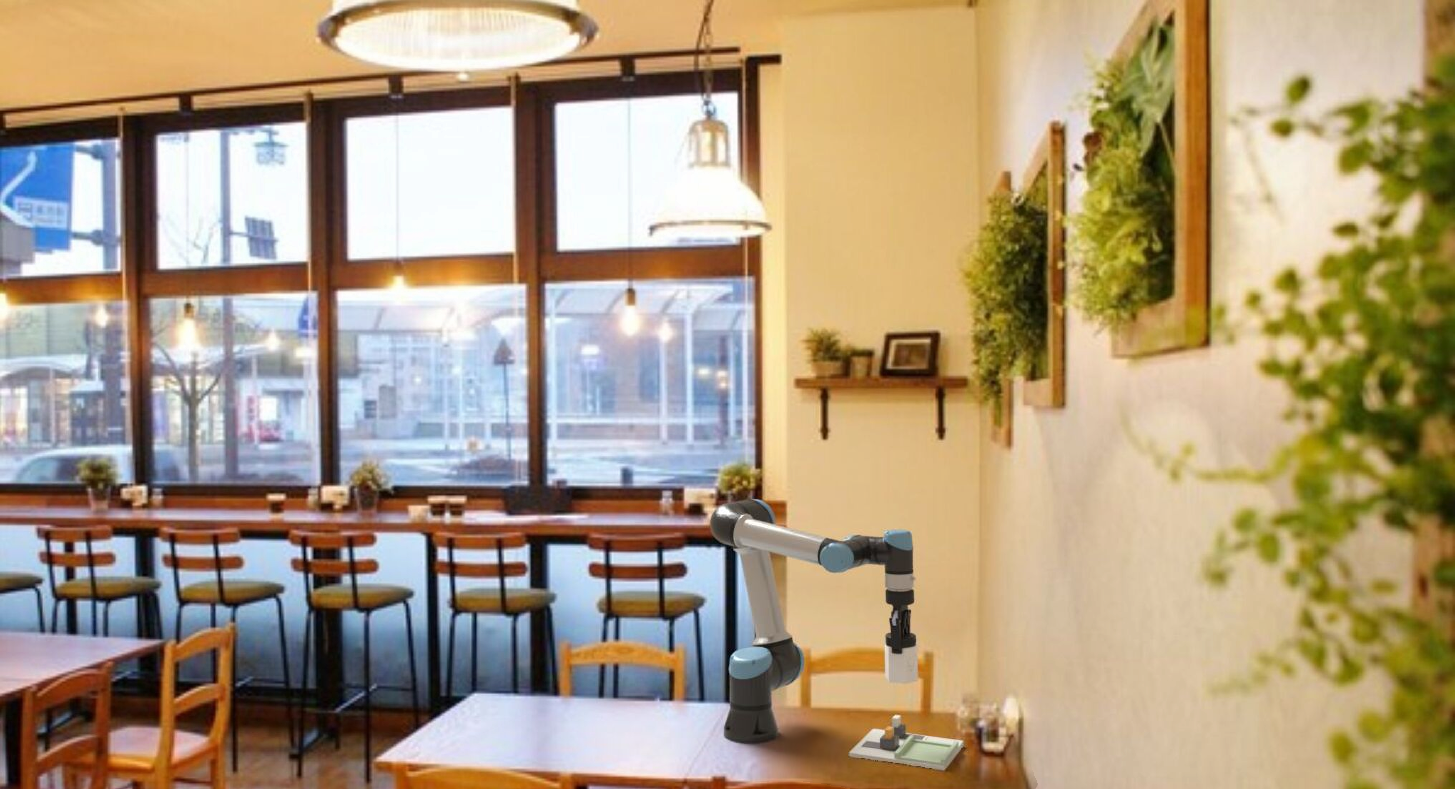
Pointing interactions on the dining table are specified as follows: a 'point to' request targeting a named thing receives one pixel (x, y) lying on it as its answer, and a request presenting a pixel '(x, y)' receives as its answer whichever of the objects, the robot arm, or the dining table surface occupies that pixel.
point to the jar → (901, 660)
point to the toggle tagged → (889, 739)
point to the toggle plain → (898, 726)
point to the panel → (909, 750)
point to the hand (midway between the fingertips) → (901, 676)
